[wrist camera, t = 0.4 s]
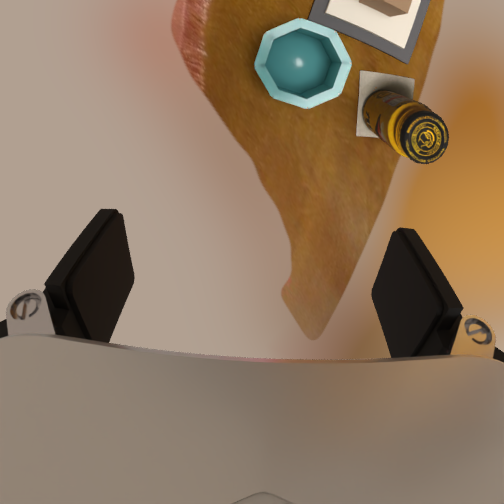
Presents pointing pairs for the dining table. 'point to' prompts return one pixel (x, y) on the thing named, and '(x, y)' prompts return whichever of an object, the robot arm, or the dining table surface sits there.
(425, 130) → the condiment
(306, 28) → the bowl
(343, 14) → the lid
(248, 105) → the dining table surface
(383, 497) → the robot arm
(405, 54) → the mat
